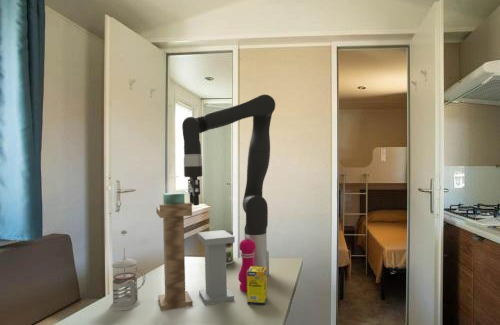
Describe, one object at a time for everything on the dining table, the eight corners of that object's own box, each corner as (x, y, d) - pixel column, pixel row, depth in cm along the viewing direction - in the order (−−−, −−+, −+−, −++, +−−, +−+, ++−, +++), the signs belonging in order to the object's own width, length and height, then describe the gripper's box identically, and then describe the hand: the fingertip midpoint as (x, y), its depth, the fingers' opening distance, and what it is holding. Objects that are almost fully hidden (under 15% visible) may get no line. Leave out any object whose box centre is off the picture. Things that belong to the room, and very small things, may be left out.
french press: (116, 298, 122) (115, 227, 122) (149, 298, 122) (148, 227, 122) (104, 310, 112) (102, 233, 113) (139, 310, 112) (138, 232, 112)
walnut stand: (187, 294, 124) (185, 199, 125) (194, 308, 112) (191, 203, 112) (158, 299, 121) (156, 201, 121) (162, 313, 109) (159, 205, 109)
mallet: (175, 202, 133) (175, 189, 133) (184, 209, 114) (184, 193, 114) (159, 203, 131) (159, 190, 131) (165, 210, 112) (165, 194, 112)
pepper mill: (260, 286, 131) (259, 233, 131) (254, 293, 124) (253, 237, 124) (242, 285, 133) (241, 232, 133) (235, 291, 126) (234, 236, 127)
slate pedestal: (225, 289, 129) (223, 230, 129) (236, 302, 117) (234, 236, 117) (198, 293, 125) (197, 232, 125) (206, 307, 113) (205, 239, 113)
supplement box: (265, 305, 114) (264, 271, 114) (247, 304, 115) (246, 271, 115) (267, 298, 119) (267, 266, 119) (250, 297, 121) (249, 265, 121)
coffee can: (234, 258, 171) (233, 230, 171) (232, 264, 160) (232, 234, 161) (213, 259, 171) (212, 230, 171) (210, 265, 161) (209, 234, 161)
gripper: (205, 164, 140) (206, 205, 140) (198, 165, 153) (199, 202, 153) (186, 165, 137) (188, 206, 137) (181, 166, 151) (182, 203, 151)
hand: (194, 204), depth 145 cm, fingers open, 8 cm apart
